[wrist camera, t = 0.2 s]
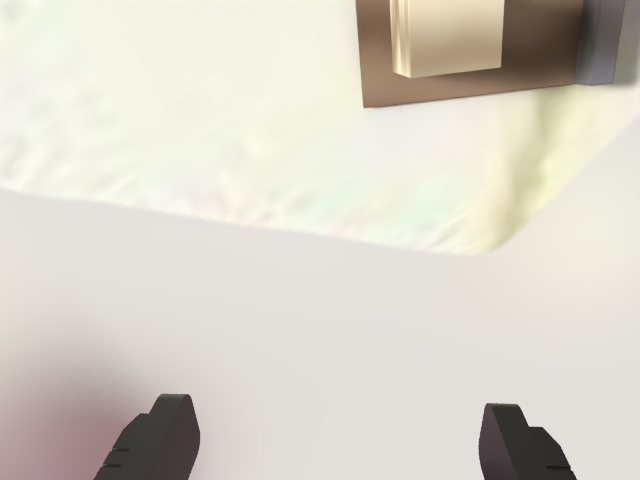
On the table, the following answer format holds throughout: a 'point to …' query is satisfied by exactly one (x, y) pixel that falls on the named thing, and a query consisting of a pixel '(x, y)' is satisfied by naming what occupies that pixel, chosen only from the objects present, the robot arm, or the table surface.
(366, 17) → the tray
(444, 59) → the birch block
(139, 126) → the table surface
